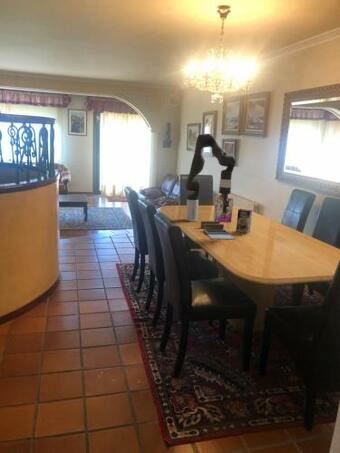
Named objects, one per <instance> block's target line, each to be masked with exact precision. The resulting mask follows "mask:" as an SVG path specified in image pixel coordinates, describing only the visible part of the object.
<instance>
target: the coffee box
mask: <svg viewBox="0 0 340 453" xmlns="http://www.w3.org/2000/svg"><path fill="white" fill-rule="evenodd" d="M252 216H253V210H252V209H246V208H245V209H244V208H238V209H237V218H236V228H235V231H236V232H239V233H246V234H249V233H250V232H251V227H252Z"/></svg>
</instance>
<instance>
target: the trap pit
mask: <svg viewBox="0 0 340 453" xmlns="http://www.w3.org/2000/svg"><path fill="white" fill-rule="evenodd" d="M203 233H204V234H205V235H207V236H208V235H231V233H230V231H228V230H226V229H223V230H209V229H204V228H203Z"/></svg>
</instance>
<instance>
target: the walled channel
mask: <svg viewBox="0 0 340 453" xmlns="http://www.w3.org/2000/svg"><path fill="white" fill-rule="evenodd" d="M224 227H225V225H224V223H221V222H214V221H213V220H201V221H200V229H203V230H204V229H209V230H224Z"/></svg>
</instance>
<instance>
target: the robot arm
mask: <svg viewBox="0 0 340 453" xmlns="http://www.w3.org/2000/svg"><path fill="white" fill-rule="evenodd" d="M204 148H205V149H206V148H211V153H212V155H213V156H214V157H215V159H217V162H218V164H219V165H220V166H222V167H226V168H225V169H222V170H221V171H220V178H219V179H220V180H219V187H218V188H219V189H218V194H219V196H218V197H222V198H224V200H223V213H226V209H227V207H228V205H229V198H228V197H229V195H230V194H231V192H232V191H231V190H232V174H233V170H234V169H235V166H236V157H235V156H234V155H229V154H227V151H225V150H224V149H223V148H222V147H221V146H220V144H218V142H217V140H216V139H215V137H214V136H213V135H212V134H211V133H203V134H198V135H197V137H196V141H195V147H194V153H193V156H192V157H193V158H192V161H191V163H190V164H191V165H190V168H189V169H190V170H189V173H188V176H187V179H186V181H185V182H186V183H185V190H186V191H190V192H192V193H191V194H188V195H187V196H186V210H185V221H187V222H192V223H193V222H198V215H199V214H198V213H199V200H200V191H201V190H200V189H201V180H200V179H198V178H197V179H196V176H198V175H199V174H200V173H201V172H202V171H203V170H204V167H205V158H204V156H203V154H202V150H203V149H204ZM224 201H225V202H224Z"/></svg>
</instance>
